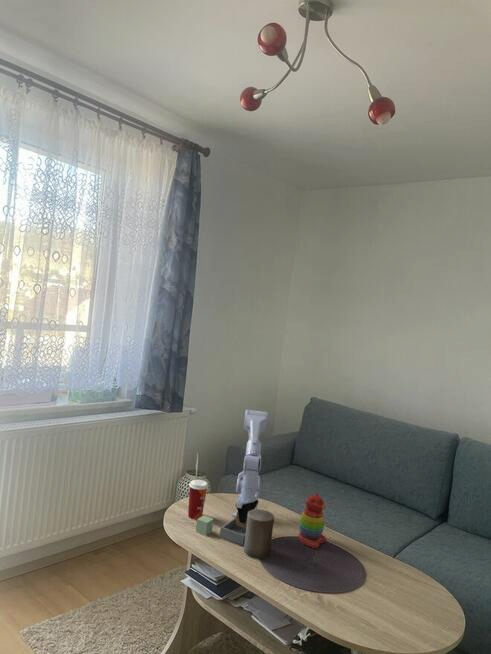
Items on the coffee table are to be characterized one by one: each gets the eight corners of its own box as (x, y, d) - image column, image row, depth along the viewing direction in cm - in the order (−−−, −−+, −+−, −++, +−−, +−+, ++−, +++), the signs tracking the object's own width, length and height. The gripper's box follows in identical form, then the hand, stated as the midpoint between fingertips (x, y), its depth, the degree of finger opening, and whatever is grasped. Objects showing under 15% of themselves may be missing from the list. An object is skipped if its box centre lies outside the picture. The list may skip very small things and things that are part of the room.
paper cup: (203, 521, 192) (207, 487, 192) (184, 519, 193) (188, 484, 192) (205, 513, 200) (209, 480, 200) (187, 510, 200) (190, 477, 200)
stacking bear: (316, 550, 180) (322, 504, 179) (292, 540, 186) (298, 495, 185) (328, 540, 189) (333, 496, 188) (305, 531, 195) (310, 488, 194)
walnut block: (240, 521, 190) (242, 508, 190) (250, 524, 188) (252, 512, 188) (235, 525, 186) (236, 512, 186) (245, 528, 184) (246, 515, 184)
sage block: (202, 527, 187) (203, 515, 187) (212, 531, 185) (213, 518, 185) (195, 531, 183) (197, 519, 183) (205, 535, 181) (207, 522, 181)
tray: (237, 525, 193) (238, 515, 193) (259, 533, 188) (260, 523, 188) (219, 537, 181) (220, 527, 181) (242, 546, 176) (243, 536, 176)
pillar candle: (275, 555, 173) (280, 514, 173) (254, 561, 167) (259, 519, 167) (258, 543, 181) (262, 503, 180) (237, 548, 175) (242, 508, 174)
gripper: (249, 478, 195) (244, 511, 195) (231, 488, 182) (226, 523, 183) (264, 483, 191) (260, 516, 192) (247, 493, 179) (243, 529, 179)
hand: (245, 520), depth 187 cm, fingers closed on walnut block, 4 cm apart
